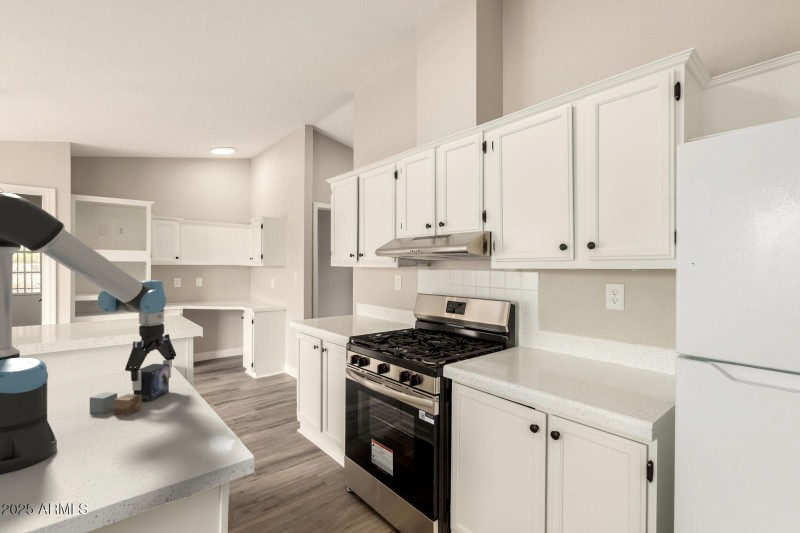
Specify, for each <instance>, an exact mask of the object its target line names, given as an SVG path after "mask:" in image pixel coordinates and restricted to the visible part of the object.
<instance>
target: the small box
mask: <svg viewBox="0 0 800 533" xmlns="http://www.w3.org/2000/svg"><path fill="white" fill-rule="evenodd" d="M139 371H141V390H133V394H137V395H141V402H152V401H154V400H156V399H158V398H159V397H162V396H164V395H165V394H167V393H170V390H169V389H170V386H169V385H170V378H169V364H163V363H152V364H149V365H146V366H143V367H140V369H139Z"/></svg>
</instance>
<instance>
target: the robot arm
mask: <svg viewBox="0 0 800 533" xmlns="http://www.w3.org/2000/svg"><path fill="white" fill-rule="evenodd" d="M65 227H66V226H65V223H63V222H62V221H61V220H59V219H58V218H56V217H55V216H53V215H52V214H51V213H49V212H47V211H46V210H45V209H43V208H42V207H41V206H39V205H37V204H35V203H33V202H32V201H30V200H29V199H27V198H25V197H23V196H20V195H16V194H13V193H10V192H9V193H8V192H0V474H4V473H9V472H13V471H17V470H21V469H23V468H26V467H27V468H28V467H29V466H32V465H34V464H37V463H40V462H41V461H44V460H46V459H48V458H49V457H51V456H52V455H53V454H55V453H56V452H57V451H58V445H57V444H58V441H57V438H56V436H55V433H54V431H53V430H52V427H51V425H50V423H49V421H48V378H49V373H48V367H47V364H46V362H45V361H43V360H40V359H37V358H32V357H27V358H26V357H25V358H24V357H20V355H21V353H20V352H21V351H20V349H19V348H16V347H15V346H14V345H13V342H12V341H13V266H14V265H13V263H14V262H13V260H14V258H13V257H14V255H15V254H16V253H17V252H19V251H20V250H21V249H22V247H23V248H26V249H27V250H29V251H30V252H32V253H34V252H40V253H42V254H44V255H45V256H47V257H48V258H51V259H52V260H54V261H55V262H57V263H58V264H60V265H61V266H64V267H65V268H66V269H68V270H70V271H72V272H73V273H75V274H77V275H78V276H80V277H81V278H83V279H84V280H86V281H88V282H89V283H91V284H92V285H94V286H95V287H98V288H99V289H100V292H99V294H98V297H97V305H98V308H99V310H100V311H101V312H104V313H117V312H125V313H126V312H127V313H138V324H139V327H138V335H139V336H140V337H141V340H140V341H137V340H135V341H134V340H133V342H132V349H131V351H130V355H129V357H128V360H127V362H126V365H125V369H124V371H125V372H130V378H131V379H130V382H132V383H131V384H132V385H131V386H132V391H134V390H141V371H139V369H141V368H142V365H143V363H144V361H145V359H146V358H147V356H148V354H150V353H151V352H153V351H155V350H157V351H158V352H159V354H160V355H161V356H162V357H163V358H164V359H162V364H169V379H170V378H172V366H173V364H172V362H173V361H172V360H175V359H176V358H175V357H177V353H176V351H175V348H174V346H173V344H172V341H171V338H170V334H169V333H165V324H164V322H165V314H164V311H165V307H166V305H167V297H166V295H165V288H164V283H163V281H162V280H156V279H155V280H153V279H150V280H149V279H147V280H140V281H139V280H138V279H136V278H135V277H134V276H132V275H131V274H129V273H128V272H127V271H125V270H123V269H122V268H121V267H119V266H117V265H116V264H114V263H113V262H112V261H110V259H108V258H107V257H105V256H103V255H102V254H101V253H99V252H97V251H96V250H95V249H93V248H92V247H91V246H90V245H88V244H86V243H84V242H83V241H82V240H80V239H79V238H78V237H76V236H75V235H73V234H72V233H70V232H69V231H68V230H66V229H65Z"/></svg>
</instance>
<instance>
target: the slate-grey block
mask: <svg viewBox="0 0 800 533" xmlns="http://www.w3.org/2000/svg"><path fill="white" fill-rule="evenodd" d="M116 398H118V393H117V392H107V391H104V392H101V393H99V394H96V395H93V396H90V397H89V414H98V415H105V414H107V413H109V412H111V411H114V399H116Z"/></svg>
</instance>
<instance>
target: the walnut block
mask: <svg viewBox="0 0 800 533" xmlns="http://www.w3.org/2000/svg"><path fill="white" fill-rule="evenodd" d="M142 407H143V406H142V401H141V395H137V394H134V393H126V394H124V395H121V396H120V397H119V396H118V397H117V398H116V399H114V410H113V412H114V413H113V415H114V416H121V415H124V417H130V416H132V415H133V414H135V413H138V412H140V411H142ZM131 414H132V415H131ZM129 415H130V416H129Z"/></svg>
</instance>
